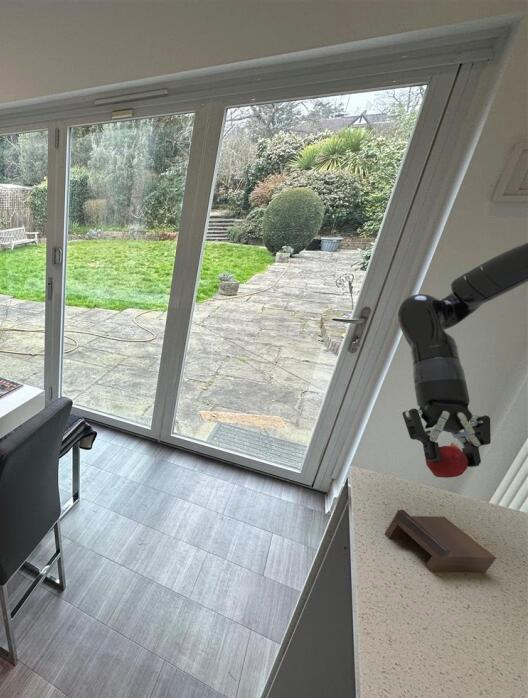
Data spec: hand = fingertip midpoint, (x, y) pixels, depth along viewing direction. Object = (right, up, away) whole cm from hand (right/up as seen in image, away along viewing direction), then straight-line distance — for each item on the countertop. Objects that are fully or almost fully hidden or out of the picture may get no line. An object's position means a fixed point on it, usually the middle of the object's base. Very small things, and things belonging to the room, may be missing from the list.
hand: (453, 463), depth 80 cm
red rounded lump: (0, -3, +3) cm, 5 cm away
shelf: (-5, -17, -1) cm, 18 cm away
